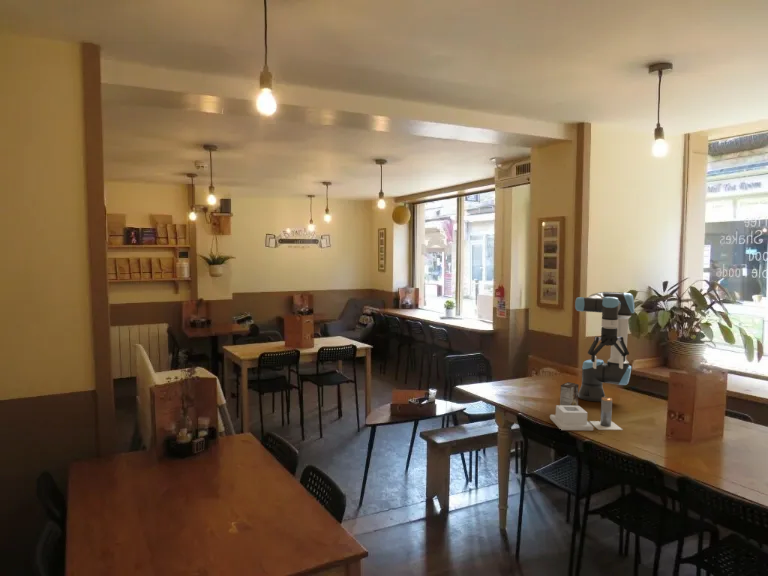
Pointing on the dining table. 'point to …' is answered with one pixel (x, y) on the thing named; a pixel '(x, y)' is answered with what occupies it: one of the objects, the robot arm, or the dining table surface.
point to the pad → (599, 427)
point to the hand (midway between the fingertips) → (607, 368)
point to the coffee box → (569, 394)
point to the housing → (571, 418)
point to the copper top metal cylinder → (606, 411)
